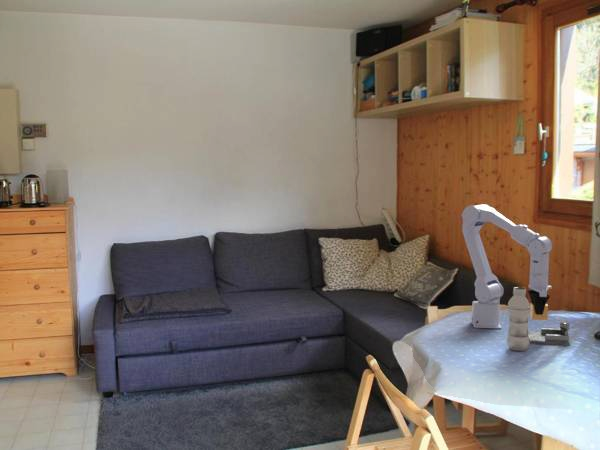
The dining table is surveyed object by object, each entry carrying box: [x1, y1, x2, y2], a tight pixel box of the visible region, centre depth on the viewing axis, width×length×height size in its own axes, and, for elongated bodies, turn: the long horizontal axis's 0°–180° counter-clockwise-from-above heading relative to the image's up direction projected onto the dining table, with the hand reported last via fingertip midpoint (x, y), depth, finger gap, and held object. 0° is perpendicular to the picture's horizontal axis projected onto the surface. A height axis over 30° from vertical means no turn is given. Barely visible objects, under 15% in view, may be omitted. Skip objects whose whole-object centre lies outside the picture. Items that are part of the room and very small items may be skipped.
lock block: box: [529, 301, 549, 321], centre depth 191 cm, size 5×4×5 cm
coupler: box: [528, 321, 571, 346], centre depth 189 cm, size 13×10×6 cm
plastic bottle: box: [506, 286, 531, 352], centre depth 179 cm, size 6×7×20 cm
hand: (537, 312), depth 191 cm, fingers closed on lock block, 4 cm apart
